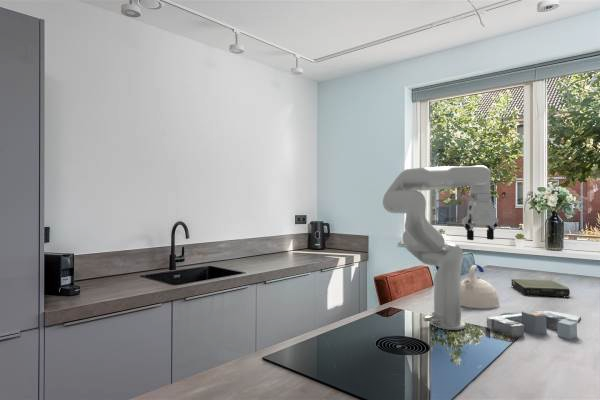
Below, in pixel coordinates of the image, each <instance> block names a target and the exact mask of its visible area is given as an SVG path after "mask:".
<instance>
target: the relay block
mask: <svg viewBox="0 0 600 400" xmlns="http://www.w3.org/2000/svg"><path fill="white" fill-rule="evenodd" d="M556 331H557V337H561V338H563V339H566V340H567V339H568V340H573V339H575V338H577V337H578V323H577V322H572V321H568V320H562V321H559V322H557V330H556Z"/></svg>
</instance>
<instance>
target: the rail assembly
mask: <svg viewBox="0 0 600 400" xmlns="http://www.w3.org/2000/svg"><path fill="white" fill-rule="evenodd" d="M547 311H548V310H541V311H540V310H539V311H537V312H538V313H543V314H545V315H546V326H547V328H549V329H552V330H556V331H557V322H559V321H562V320H568V321H571V319H569V318H566V317H563V316H559V315H555V314H552V313H550V312H547ZM486 329H488V330H491V331H495V332H496V333H497V332H498V333H500V334H502V335H505V336H507V337H510V338H512V339H513V338H514V339H515V338H521V337H525V330H524V325H523V324H522V312H521V313H513V314H504V315H495V316H487V317H486Z"/></svg>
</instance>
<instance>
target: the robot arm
mask: <svg viewBox="0 0 600 400" xmlns="http://www.w3.org/2000/svg"><path fill="white" fill-rule="evenodd" d="M491 176H492V175H491V171H490V169H489V168H488V167H487V166H485V165H471V166H470V165H469V166H468V165H467V166H457V165H455V166H453V165H452V166H450V165H449V166H448V165H447V166H434V167H432V166H430V167H429V166H427V167H416V168H407V169H404V170H402V172H400V173H399V174H398V176H396V178H395V179H394V180H393V182H392V184H391V185H390V186H389V187H388V189H387V190H386V192H385V193H384V195H383V198H382V205H383V208H384V209H385V211H387V212H388V213H391V214H405V215H406V216H405V222H404V231H403V233H402V244H403V246H404V248H405V249H406V250H407V251H408V252H409V253H410V254H411V255H412V256H413V257H415V258H416V259H417V260H419V262H421V263H422V264H424V265H429V266H434V267H438V269H437V270H436V273H435V274H434V277H433V292H434V293H433V298H434V300H433V303H434V304H433V306H434V307H433V309H434V310H433V312H431V314H430V315H426V316H423V317H422V319H423V321H424V322H430V323H431V324H430V323H429V324H430V325H431V326H432V325H433V326H432V327H434V326H435V327H434V328H437V327H438V328H437V329H440V328H442V329H441V330H445V329H446V330H447V331H458V330H463V329H465V328H466V323H465V322H464V321H462V319H461V317H462V312H461V311H462V306H461V285H460V282H461V279H462V278H461V275H462V274H461V272H462V266H463V260H464V252H463V249H462V247H460V246H459V245H457V244H455V243H452V242H445V237H443V235H442V233H440V231H438V229H437V228H435V227H434V225H432V224H431V223H430V222H429V220H428V219H427V218H426V208H427V207H426V206H427V201H426V198H425V195H424V194H423V193H422V192H421V191H432V190H433V191H434V190H447V189H448V190H449V189H456V188H462V187H463V188H464V187H470V189H469V192H470V193H469V195H468V199H469V201H468V206H467V214H466V215H467V216H465V217H463V218H462V219H461V223H462V226H463V228H464V229H465V230H466V239H467V241H474V240H475V237H474V235H475V234H474V232H475V230H473V229H474V228H475V227H476V226H477V227H478V226H479V227H482V226H483V227H486V228H487V229H486V239H487V240H495V237H494V236H495V235H494V234H495V230H496V228H497V226H498V223H499V221H500V219H499V218H498V217H496V216H495V211H494V210H495V208H494V204H493V201H491Z"/></svg>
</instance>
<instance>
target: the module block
mask: <svg viewBox="0 0 600 400" xmlns="http://www.w3.org/2000/svg"><path fill="white" fill-rule="evenodd" d="M521 313H522V324H523V325H524V331H527V332H529V333H530V334H534V335H539V334H546V333H547V328H548V327H547V326H546V315H545V314H543V313H538V311H535V310H526V311H525V310H524V311H521Z"/></svg>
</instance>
